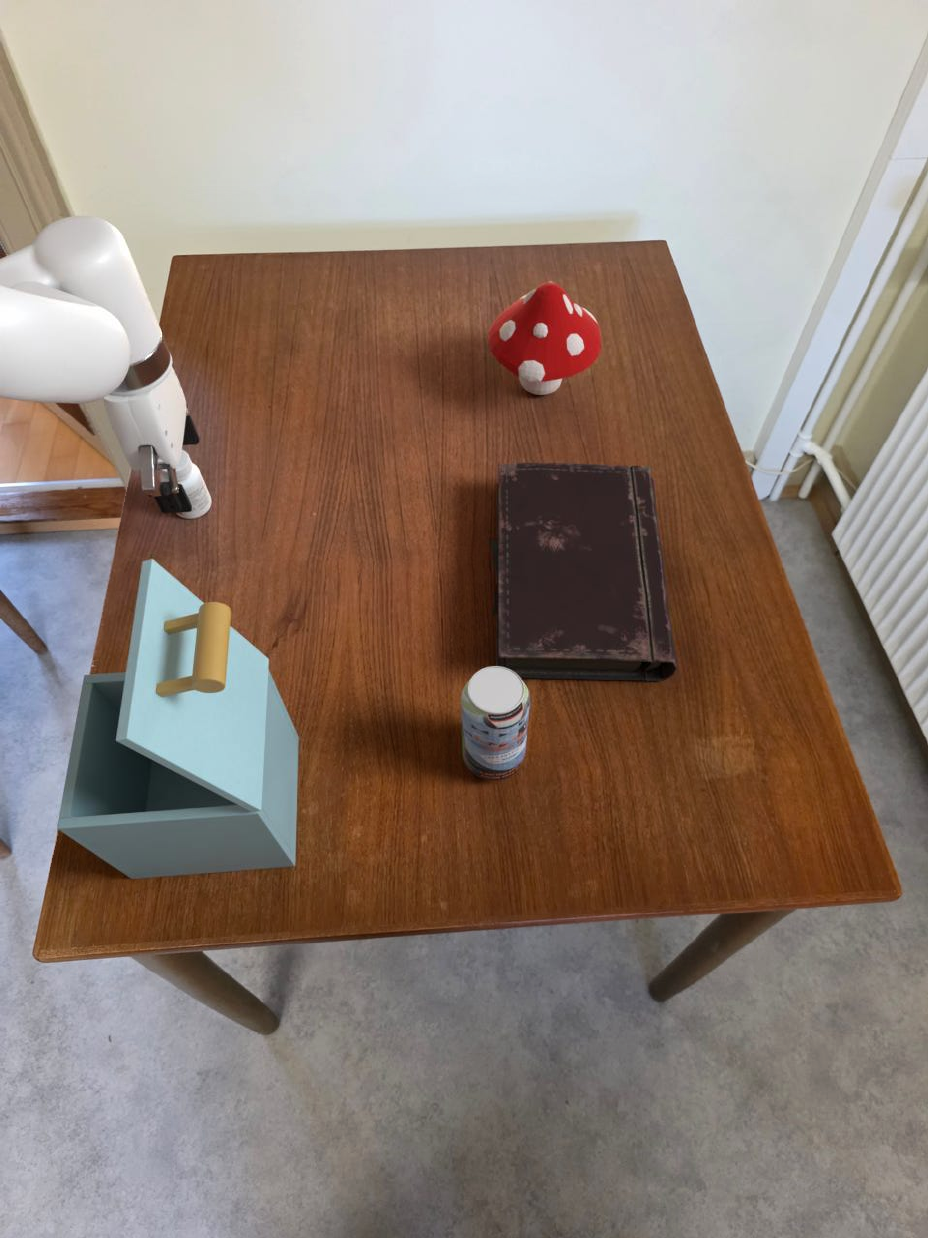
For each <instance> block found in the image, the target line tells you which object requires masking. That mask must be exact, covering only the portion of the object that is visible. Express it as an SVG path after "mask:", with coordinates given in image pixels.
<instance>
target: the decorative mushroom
mask: <svg viewBox="0 0 928 1238" xmlns="http://www.w3.org/2000/svg"><path fill="white" fill-rule="evenodd" d="M487 343H488V347H489V350H490V353H491V354H492V355H493V357H494V358H495V360H496V361H497V362H498V363H499V364H501V366H503V367H504V368H505V369H506V370H508V371H509V372H511V373H512V374H513V375H515V376H516V377H518V378H519V383H520V385H521V387H522V388H523V389H524V390H525V391H527V392H529V393H530V394H532V395H538V396H545V395H549V394H552V393H554V392H556V391H557V390H558V389H559V388H560V386H561V383H562V382H563V379H566V378H571V377H574V376H577V375H578V374H581V373H583V372H584V371H586V370H587V369H589V367H591V366H593V364H594V363H595V362H596V360H597V359H598V357H600V353H601V349H602V336H601V331H600V325H599V323H598V321H597V319H596V317H595V316H594V315H593V314H592V313H591V312H589V311H588V309H586V308H584V307H581V306H580V305H578V304H577V303H576V302H575V301H573V299H572V298H571V297H570V295H569V294H568V293H567V291H565V289H564V288H563V287H562V286H561V285H560V284H557V283H555V282H553V281H551V280H550V281H547V282H545V283H542V284H540V285H538V286H537V287H536V288H533V289H532V290H531V291H529V292H527V294H525V295H522V296H521V297H519V299H518V300H516V301H514V303H512V304H511V305H510V306H508V307H507V308H506V309H504V310H502V311H501V313H500V314H499V315H498V316H496V318H495V319H494V321H493V323H492V324H491V326H490V328H489V331H488V339H487Z"/></svg>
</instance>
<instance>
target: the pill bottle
mask: <svg viewBox="0 0 928 1238" xmlns="http://www.w3.org/2000/svg"><path fill="white" fill-rule="evenodd" d="M157 462H163V461H162V460H161V459H160V458H159V457H158V458H157ZM175 469H176V475H177V480H178V484H182V485H183V488H184V490H185V492H186V494H187V496H188V498H189V500H190V503H191V505H192V511H191V512H180V513H175V514H176V515H177V516H179V517H181V518H183V519H186V520H187V519H188V520H193V519H194V520H195V519H197V518H200V517H202V516H203V515H205V514H206V513H207V512H208V511H209V510H210V508H211V506H212V497H211V494H210V492H209V489H208V487H207V485H206V482H205V480H204V478H203V475H202V472H201V470H200V469H199V467H198V465H196V464H195V463H194V462H192V459H191V457H190V455H189V453H188V452H187V451H186V450H184V449H182V452H181V459H180V463H179V464H178V466H177V467H176V468H175ZM159 472H160V476H159V477H160V478H159V482H169V478H168V472H167V469H162V470H159Z"/></svg>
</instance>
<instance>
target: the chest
mask: <svg viewBox="0 0 928 1238" xmlns="http://www.w3.org/2000/svg"><path fill="white" fill-rule="evenodd" d="M125 675H126V671H125V672H110V673H109V672H108V673H94V674H92V673H91V674H84V675H83V680H82V685H81V691H80V697H79V701H78V706H77V713H76V717H75V724H74V730H73V735H72V741H71V747H70V753H69V758H68V764H67V770H66V775H65V780H64V785H63V792H62V797H61V803H60V807H59V815H58V820H57V826H56V829H57V830H58V831H60V832H61V833H62V834H64V835H66V836H67V837H69V838H70V839H71V840H73V841H75V842H76V843H78V844H79V845H80V846H82V847H84V848H85V849H86V850H88V851H89V852H91V853H92V854H94V855H95V856H97V857H98V858H100V859H101V860H102V861H104V862H106V863H107V864H109V865H110V866H112V867H113V868H115V869H116V870H117V871H119V872H120V873H122V874H124V875H125V876H126V877H128V878H130V879H131V880H139V879H150V878H151V879H152V878H153V879H154V878H164V877H166V878H167V877H179V876H191V875H203V874H204V875H205V874H216V873H229V872H242V871H243V872H244V871H254V870H265V869H279V868H291V867H296V851H297V820H298V819H297V818H298V817H297V815H298V782H299V781H298V779H299V777H298V776H299V746H300V745H299V743H300V742H299V741H300V740H299V739H300V738H299V735H298V733H297V730H296V728H295V725H294V724H293V721H292V719H291V717H290V715H289V712H288V710H287V708H286V705H285V703H284V701H283V699H282V696H281V694H280V692H279V690H278V688H277V684H276V683H275V680H274V678H273V676H272V674H271V672H270V670H269V668H268V686H267V707H266V727H265V747H264V768H263V788H262V808H261V811H256V812H251V811H249V810H247V809H245V808H243V807H241V806H239V805H237V804H235V803H234V802H232V801H230V800H228V799H226V798H224V797H222V796H220V795H218V794H216V793H215V792H213V791H211V790H209V789H207V788H205V787H203V786H201V785H199V784H197V783H195V782H194V781H192V780H190V779H188V778H186V777H184V776H182V775H180V774H178V773H176V772H174V771H173V770H171V769H169V768H167V767H165V766H163V765H161V764H159V763H157V762H155V761H154V760H152V759H150V758H148V757H146V756H144V755H142V754H140V753H138V752H136V751H134V750H133V749H131V748H129V747H127V746H125V745H123V744H121V743H119V742H117V741H116V735H117V728H118V722H119V715H120V708H121V701H122V695H123V688H124V681H125Z"/></svg>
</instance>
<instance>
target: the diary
mask: <svg viewBox="0 0 928 1238" xmlns="http://www.w3.org/2000/svg"><path fill="white" fill-rule="evenodd" d="M655 489H656V488H655V481H654V477H653V474H652V468H651V467H650V466H649V465H619V464H617V465H614V464H611V465H610V464H595V463H577V462H576V463H575V462H573V463H571V462H506V463H505V462H504V463H500V464H499V463H498V464H497V483H496V539H494V540H491V541H489V544H490V549H491V555H492V560H493V564H494V570H495V576H496V583H495V587H494V593H493V613H492V614H493V616H496V666H500V667H505V668H508V669H510V670H512V671H514V672H515V673H516V674H517V675H518V676H519V677H520V678H521V679H559V680H560V679H561V680H603V681H605V680H607V681H648V682H649V681H651V682H653V681H655V682H657V681H658V682H664V681H667V680H668V679H670V678H671V677H673V676H674V675H675V674H676V672H677V670H678V663H677V655H676V649H675V641H674V638H673V637H674V636H673V630H672V629H673V628H672V622H671V616H670V609H669V608H670V607H669V606H670V605H669V599H668V588H667V579H666V577H667V576H666V570H665V560H664V553H663V548H662V541H661V535H660V528H659V521H658V512H657V502H656V490H655Z"/></svg>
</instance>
